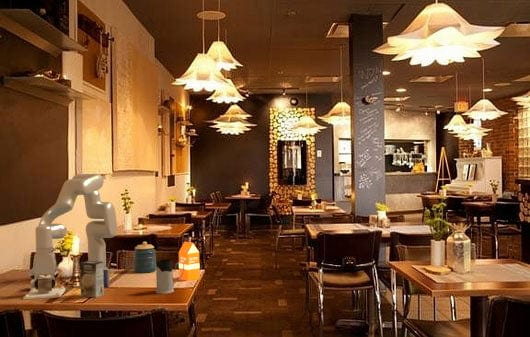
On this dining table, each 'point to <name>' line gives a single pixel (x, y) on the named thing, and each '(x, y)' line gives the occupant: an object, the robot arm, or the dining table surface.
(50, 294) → the baseplate
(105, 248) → the robot arm
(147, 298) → the dining table surface
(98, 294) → the coffee box
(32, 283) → the ash brick
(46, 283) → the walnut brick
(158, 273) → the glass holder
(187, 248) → the orange juice
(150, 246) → the canister
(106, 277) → the flask
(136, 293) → the dining table surface
